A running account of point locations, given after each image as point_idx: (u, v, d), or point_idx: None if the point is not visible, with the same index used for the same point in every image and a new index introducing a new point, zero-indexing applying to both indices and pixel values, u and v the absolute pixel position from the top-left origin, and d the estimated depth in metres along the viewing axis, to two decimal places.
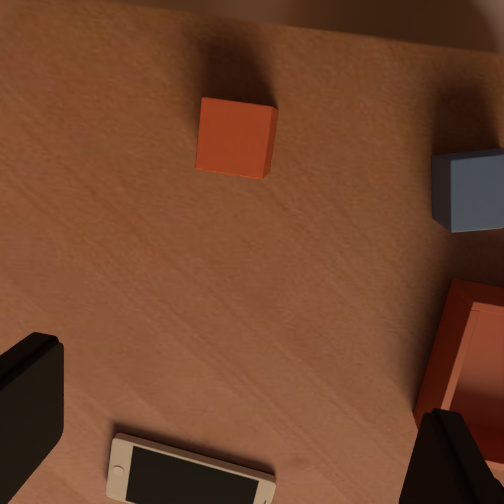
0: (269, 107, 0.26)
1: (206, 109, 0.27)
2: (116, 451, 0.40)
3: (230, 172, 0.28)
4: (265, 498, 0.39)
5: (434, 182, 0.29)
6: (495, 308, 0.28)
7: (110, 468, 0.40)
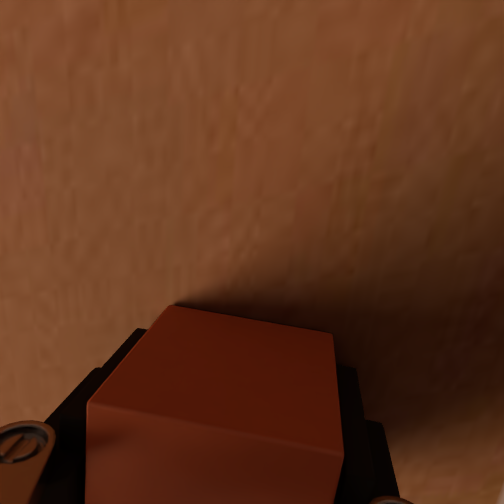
0: None
1: (295, 467, 0.07)
2: None
3: None
4: None
5: None
6: None
7: None
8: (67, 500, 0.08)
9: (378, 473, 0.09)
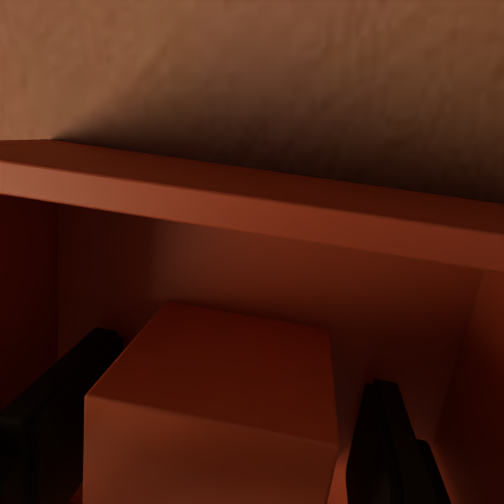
0: None
1: (291, 459, 0.07)
2: None
3: (87, 503, 0.08)
4: None
5: None
6: None
7: None
8: None
9: None
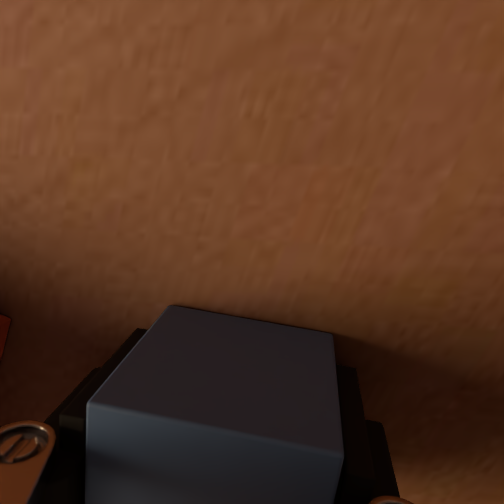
0: None
1: None
2: None
3: None
4: None
5: (263, 334, 0.11)
6: None
7: None
8: (67, 500, 0.08)
9: (378, 473, 0.09)
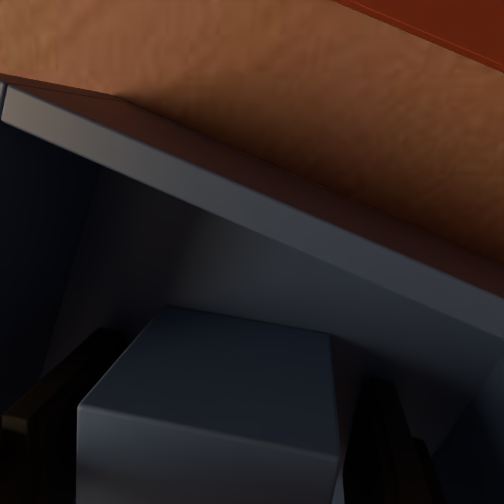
0: None
1: None
2: None
3: None
4: None
5: (260, 335, 0.10)
6: None
7: None
8: None
9: None
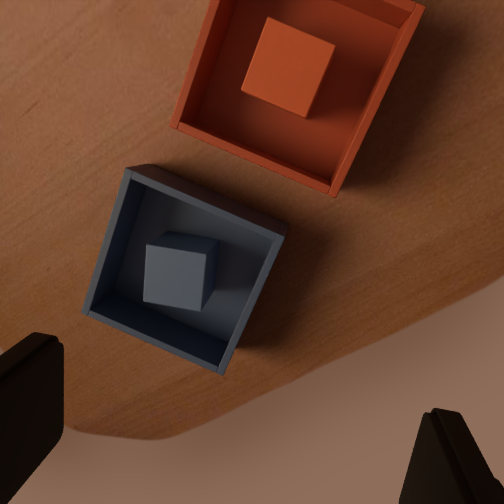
0: (305, 114, 0.27)
1: (321, 47, 0.26)
2: None
3: (254, 56, 0.26)
4: None
5: (196, 238, 0.34)
6: (411, 30, 0.25)
7: None
8: None
9: None
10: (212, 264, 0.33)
